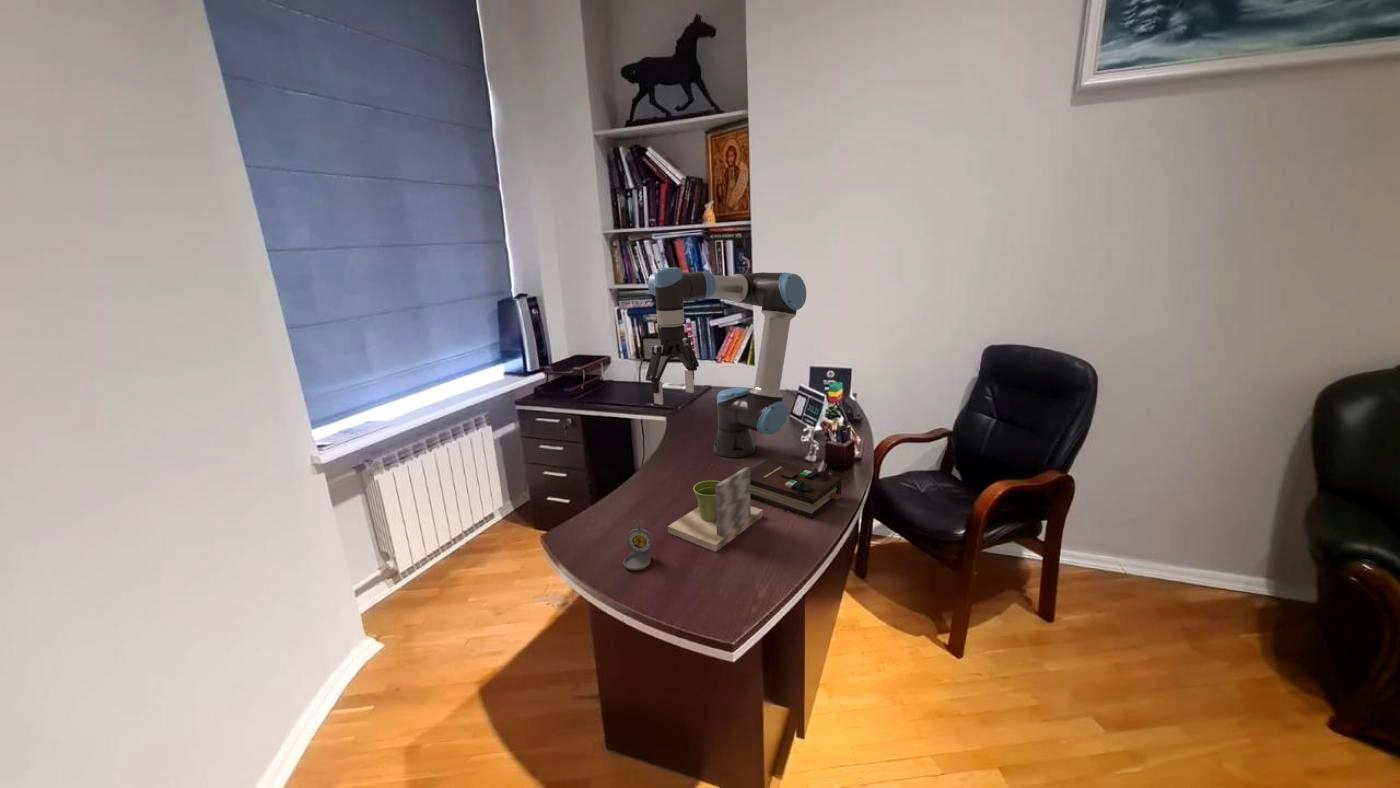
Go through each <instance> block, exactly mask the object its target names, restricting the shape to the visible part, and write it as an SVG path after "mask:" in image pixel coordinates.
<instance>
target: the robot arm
mask: <svg viewBox="0 0 1400 788" xmlns="http://www.w3.org/2000/svg"><path fill="white" fill-rule="evenodd" d="M647 287H648V290H649V292H650V293H651V294H652V295H653V296H655V307H656V308H655V309H656V320H657V322H656V323H657V324H658V325H657V339H658V340H659V341H660V344H659V345H655V344H653V345H652V347H651V355H650V360H649V364H648V369H647V371H646V372H647V373H646V375H645V380H646V381H648V382H651V389H652V393H653V400H654V404H657V405H661V406H663V405H664V395H663V381H661V378H662V377H663V374H664V371H665V369H666V368H667V366H668V363H669V362H670V361H671V359H674V358H678V359H679V361H680V362H681V363H682V365H683V366H684V368H685V370H684V387H685V393H690V394H694V393H695V385H694V384H695V372H696V371H697V370H698V368H699V366H700V364H699V361H698V359H697V355H696V354H695V351H694V349H693V346H692V342H691V341H692V340H691V338H689V337H688V338H687V337H686V334H685V333H686V332H685V329H686V327H685V325H684V323H685V311H684V310H685V309H684V302H687V301H694V300H705V299H713V300H715V299H716V300H730V301H731V302H734V303H740V304H747V305H751V306H756V307H761V311H760V312H761V313H762V314H763V316H764V321H763V330H762V334H761V343H760V347H759V354H758V355H759V356H758V362H757V367H756V368H757V369H756V375H755V380H754V387H752V388H751V389H749V388H747V387H731V388H725V389H723V390H720V391H719V392H718V393H717V396H716V397H717V401H716V408H717V409H716V410H717V411H716V412H717V433H716V436H715V440H714V442H713V452H714V453H715V454H716V455H719V456H721V457H725V458H742V457H743V458H744V457H747V456H750V455H752V454H753V453H754V452H755V451H756V443H755V441H754V438H753V435H752V432H751V430H752V431H755V432H758V433H759V434H765V435H775V434H777V433H778V432H780V431H781V429H783V427H784V426H785V424H786V422H787V419H788V413H789V410H788V407H787V405H786V404H785V403H784V400H783V399H784V395H783V394H782V392H781V390H780V389H781V384H782V377H783V370H784V364H785V357H786V351H787V345H788V339H789V331H790V325H791V321H792V320H793V318H795V317H796V316H797V311H799V310H800V309H802V308H803V307H804V305H805V304H806V300H807V288H806V284H805V283H804V280H803V278H802V277H801V276H800V275H798V274H797V273H791V272H790V273H789V272H763V271H762V272H752V273H751V272H750V273H735V274H733V275H717V274H716V275H714V274H712V273H711V272H709V271H698V272H684V271H682V268H681V267H676V266H675V267H659V268H657V269H656V270H655V271H654V272H653V273H651V274H650V276H649V278H648V281H647Z"/></svg>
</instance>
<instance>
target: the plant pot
mask: <svg viewBox="0 0 1400 788" xmlns="http://www.w3.org/2000/svg"><path fill="white" fill-rule="evenodd" d="M720 482H721V481H719V480H704V481H703V480H702V481H699V482H697V483H696V484H695V485H693V486H692V487H693V488H692V489H693V492H694V494H695V496H696V500H697V505H698V507H699V511H700V516H701V518H703V519H704V520H706V521H716V494H715V485H717V484H718V483H720Z"/></svg>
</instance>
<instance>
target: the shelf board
mask: <svg viewBox="0 0 1400 788" xmlns="http://www.w3.org/2000/svg"><path fill="white" fill-rule="evenodd" d="M750 469H751V467H750V466H744V467H743V468H742V469H740V470H738V471H737V472H735V473H733V474H731V475H729V476H728V477H727V478H725V479H724V480H722V481H720V483H718V484H717V485H715V494H716V521H706V520H704V519H703V518H701V516H700V511H699V506H698V507H696V508H694V509H692V510H691V511H689V512H687V514H685V515H683V516H681V517H680V518H678V519H677V520H675V521H673V522H672V523H671V524H669V525H668V526H667V533H668V532H669V533H668V534H670V533H671V534H670V535H672V534H673V535H672V536H675V537H677V536H678V537H677V538H680V539H683V540H685V541H688V542H690V543H692V544H695V545H698V546H700V547H702V548H705V549H707V550H709V551H712V552H715V553H716V552H717V551H719V550H720V549H721V548H723V547H724V546H726V545H727V544H729V543H730V542H731V541H732V540H734V539H735V538H736V537H738V536H739V535H740V534H741V533H743V532H744V531H745V530H747V529H748V528H750V525H751V526H752V525H753V524H755V523H756V522H757V521H758V519H759V520H760V519H761V518H763V517H764V515H763V514H764V512H763V510H764V509H761V508H758V507H754V506H752V505H751V500H752V499H751V498H750ZM762 516H763V517H762ZM754 522H755V523H754ZM746 528H747V529H746ZM737 535H738V536H737Z"/></svg>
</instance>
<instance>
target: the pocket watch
mask: <svg viewBox="0 0 1400 788" xmlns="http://www.w3.org/2000/svg"><path fill="white" fill-rule="evenodd" d="M637 521H641V522H642V524H640V522H638V523H637V524H636V522H637ZM633 524H634V526H636V528H634V529H632V530H631V531H630V532H628V534H627V537H626V542H627V546H628V548H630V550H632V551H633V552H634V553H631V554H628V555H627V556H626V557H624V559H623V562H622V564H623V567H625V568H626V569H627V570H630V571H641V570H644V569H646V568H647V567H649V566H650V564H651V562H652V559H651V557H650V555H648V554H646V553H648V552H650V551H651V550H652V548H653V546H654V539H653V538H654V537H653V536H652V534H651V533H650V532H649V531H648V530H647V529H644V528H641V527H642V526H644V525H645V522H644V520H642V519H635V520H634V521H633Z"/></svg>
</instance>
